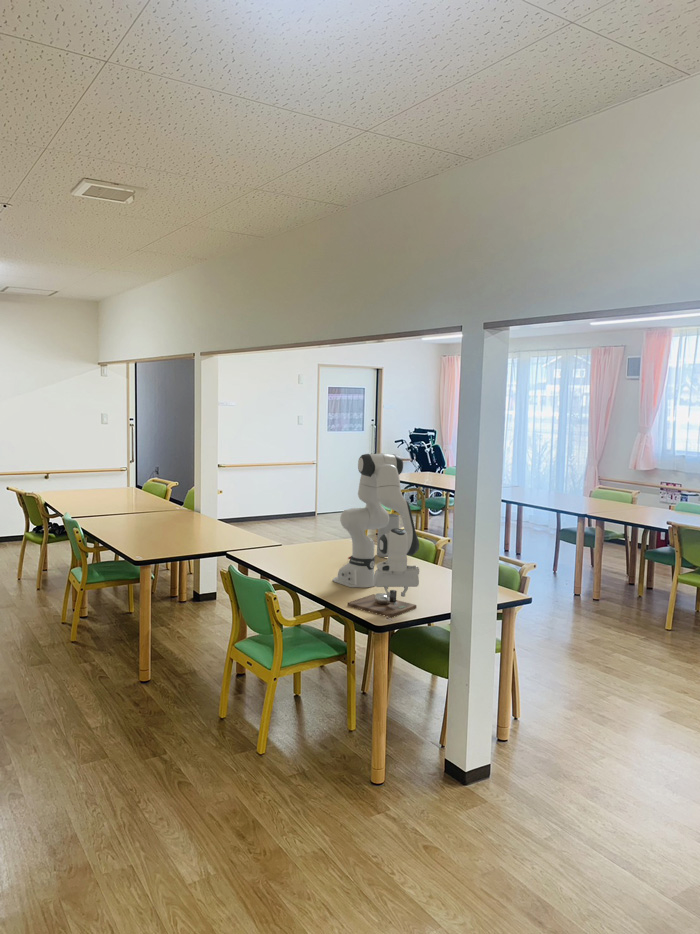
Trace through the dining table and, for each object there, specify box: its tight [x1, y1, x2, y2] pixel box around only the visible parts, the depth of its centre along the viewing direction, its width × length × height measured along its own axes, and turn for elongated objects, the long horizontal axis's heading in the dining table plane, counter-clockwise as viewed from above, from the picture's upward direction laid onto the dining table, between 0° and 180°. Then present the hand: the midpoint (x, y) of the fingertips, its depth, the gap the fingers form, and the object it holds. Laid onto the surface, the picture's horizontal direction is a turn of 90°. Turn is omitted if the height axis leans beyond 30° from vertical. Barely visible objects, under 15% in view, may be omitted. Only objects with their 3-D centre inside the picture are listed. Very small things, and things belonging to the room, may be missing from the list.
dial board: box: [347, 594, 417, 619], centre depth 311 cm, size 24×20×2 cm
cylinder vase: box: [376, 513, 400, 558], centre depth 415 cm, size 12×12×25 cm
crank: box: [375, 589, 398, 606], centre depth 310 cm, size 14×7×7 cm, turn 30°
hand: (395, 596), depth 306 cm, fingers open, 5 cm apart
